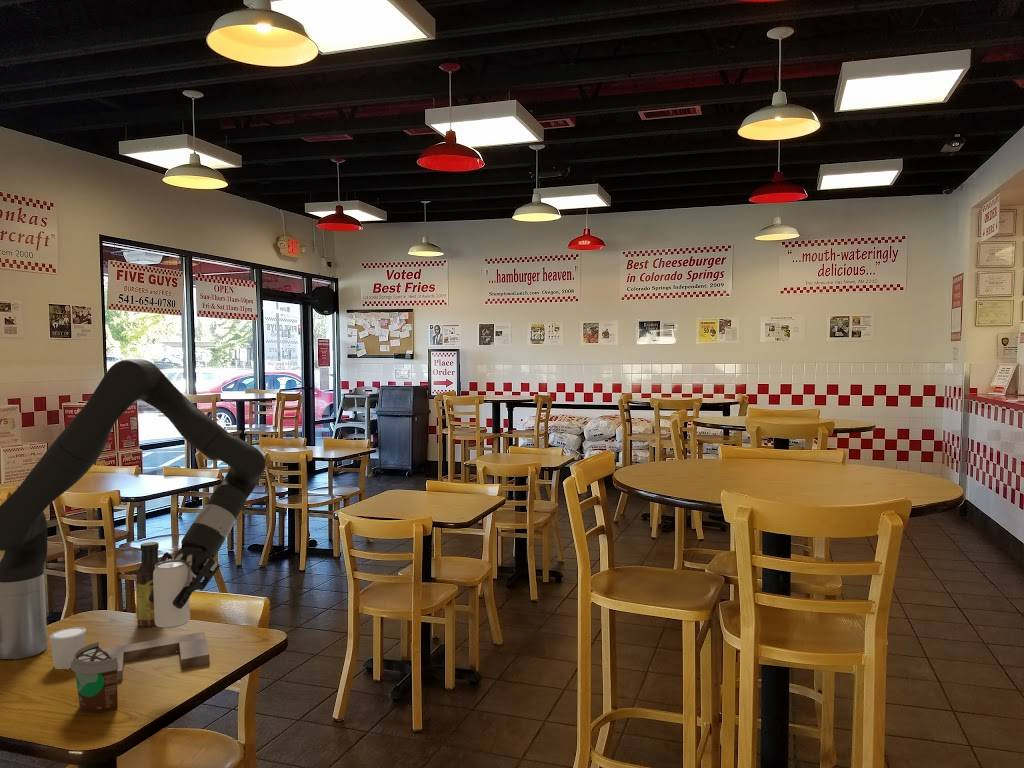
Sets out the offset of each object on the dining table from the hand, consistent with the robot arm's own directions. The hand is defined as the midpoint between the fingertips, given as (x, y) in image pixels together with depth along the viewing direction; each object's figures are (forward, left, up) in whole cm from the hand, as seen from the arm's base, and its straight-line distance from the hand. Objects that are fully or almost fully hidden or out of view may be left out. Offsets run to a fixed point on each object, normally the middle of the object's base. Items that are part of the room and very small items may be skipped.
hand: (164, 604), depth 147 cm
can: (+1, +1, -4) cm, 5 cm away
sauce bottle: (-3, +42, -17) cm, 45 cm away
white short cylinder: (-19, +23, -17) cm, 34 cm away
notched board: (-3, +16, -17) cm, 23 cm away
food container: (-13, -2, -17) cm, 22 cm away
